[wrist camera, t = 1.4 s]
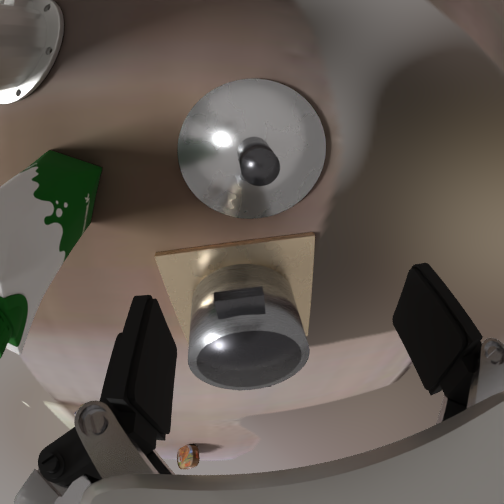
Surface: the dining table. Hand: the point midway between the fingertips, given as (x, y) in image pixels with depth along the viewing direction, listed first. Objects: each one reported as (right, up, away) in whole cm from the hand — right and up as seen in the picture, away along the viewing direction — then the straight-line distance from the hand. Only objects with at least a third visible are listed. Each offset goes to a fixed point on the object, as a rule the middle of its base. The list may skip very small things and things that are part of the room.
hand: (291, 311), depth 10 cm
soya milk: (-21, +9, +15) cm, 28 cm away
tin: (-23, -64, +66) cm, 95 cm away
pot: (-3, -4, +26) cm, 27 cm away
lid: (-1, +12, +16) cm, 20 cm away
